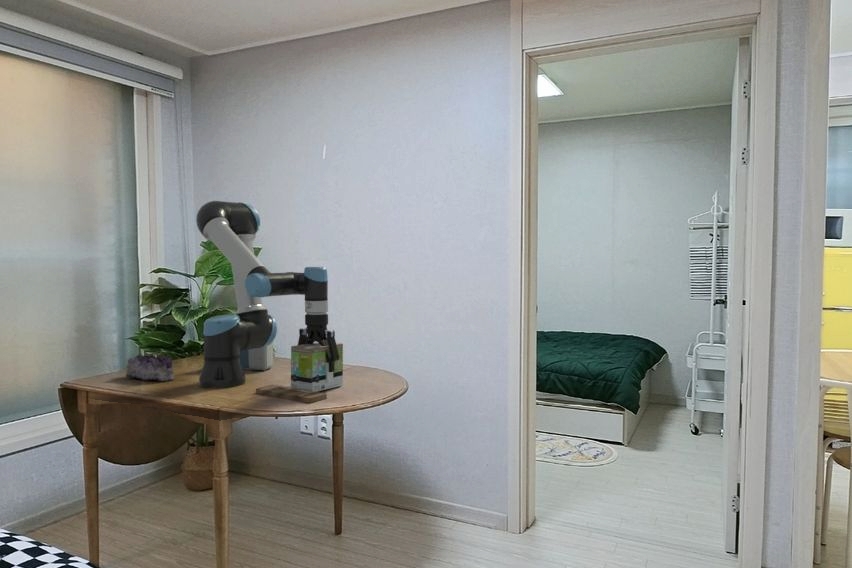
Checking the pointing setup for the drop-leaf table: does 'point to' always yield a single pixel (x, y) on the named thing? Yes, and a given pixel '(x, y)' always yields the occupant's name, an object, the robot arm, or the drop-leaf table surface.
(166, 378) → the geode
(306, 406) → the drop-leaf table surface
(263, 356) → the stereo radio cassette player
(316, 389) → the tea box
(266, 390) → the walnut plank
